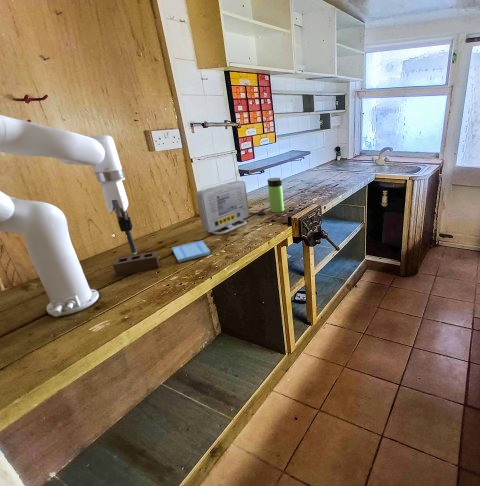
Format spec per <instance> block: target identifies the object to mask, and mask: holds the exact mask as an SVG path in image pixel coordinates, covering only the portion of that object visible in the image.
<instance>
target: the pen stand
mask: <svg viewBox="0 0 480 486" xmlns="http://www.w3.org/2000/svg"><path fill="white" fill-rule="evenodd" d="M112 267H113V270H114V273H115V276H116V277H121V276H126V275H130V274H135V273H140V272H144V271H151V270H156V269H160V258H159V255H158V251H157V250H155V251H150V252H144V253H139V254H132V255H127V256H122V257H116V258H114V260H113V263H112Z"/></svg>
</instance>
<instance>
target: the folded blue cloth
mask: <svg viewBox="0 0 480 486" xmlns="http://www.w3.org/2000/svg"><path fill="white" fill-rule="evenodd" d="M171 250H172V252H173V254H174V256H175V258H176V261H177V262H178V263H183V262H187V261H190V260H194V259H198V258H200V257H202V258H203V257H206V256H209V255H210V254H211V250H210V248H209V247H208V246H207V244H206V243H205V242H204V241H203V240H198V241H194V242H190V243H185V244H181V245H178V246H172V247H171Z"/></svg>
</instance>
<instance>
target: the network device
mask: <svg viewBox="0 0 480 486" xmlns="http://www.w3.org/2000/svg"><path fill="white" fill-rule="evenodd" d="M247 194H248V193H247V187H246V182H245V181H244V180H239V179H237V180H233V181H230V182H226V183H223V184H219V185H215V186H211V187H209V188H204V189H202V190H198V191H197V192H195V198H196V199H195V200H196V204H197V209H198V213H199V214H198V215H199V218H200V224H201V229H202V230H203V231H204V232H208V233H210V234H213V235H224V234H226V233H228V232H231V231H233V230H235V229H237V228H239V227H242V226H244V225H247V224H248V220H245V219H246V218H248V217H249V216H250V209H249V201H248V195H247ZM236 222H241V223H239V224H237V225H233V224H234V223H236ZM222 228H225V230H223V231H220V232H219V231H218V230H219V229H222Z"/></svg>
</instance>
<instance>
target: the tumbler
mask: <svg viewBox="0 0 480 486" xmlns="http://www.w3.org/2000/svg"><path fill="white" fill-rule="evenodd" d="M267 191H268V199H269V209H270V212H271V213H282V212H284V211H285V206H284V193H283V183H282V178H281V177H270V178H268V179H267Z"/></svg>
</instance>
